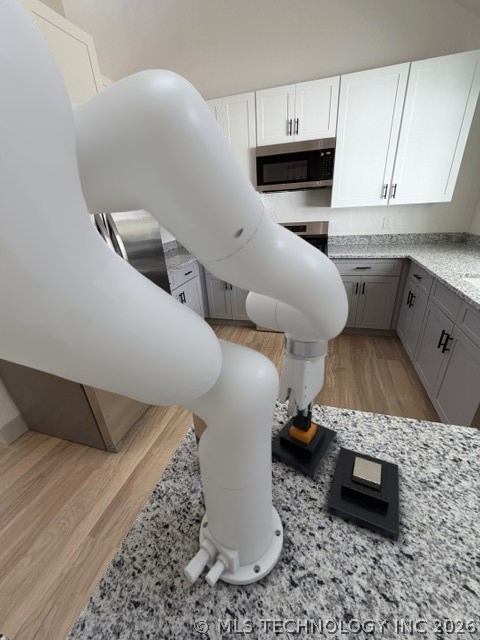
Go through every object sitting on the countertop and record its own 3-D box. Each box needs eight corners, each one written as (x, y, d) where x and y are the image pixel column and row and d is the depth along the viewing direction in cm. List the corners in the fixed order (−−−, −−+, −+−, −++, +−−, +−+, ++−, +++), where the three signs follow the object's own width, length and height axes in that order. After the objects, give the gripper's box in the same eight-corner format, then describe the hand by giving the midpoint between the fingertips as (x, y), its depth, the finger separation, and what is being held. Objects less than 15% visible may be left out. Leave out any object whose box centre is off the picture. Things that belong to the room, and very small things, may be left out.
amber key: (307, 444, 53) (308, 437, 53) (289, 436, 56) (289, 428, 55) (316, 432, 56) (316, 425, 56) (298, 424, 59) (298, 417, 58)
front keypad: (397, 542, 40) (401, 526, 38) (326, 512, 44) (328, 496, 43) (397, 471, 50) (400, 457, 49) (340, 453, 55) (341, 439, 54)
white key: (378, 492, 44) (380, 484, 43) (352, 482, 45) (353, 474, 45) (379, 472, 47) (381, 464, 46) (354, 464, 49) (355, 456, 48)
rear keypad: (313, 479, 50) (314, 464, 48) (266, 453, 56) (266, 440, 54) (336, 438, 58) (337, 425, 57) (294, 419, 64) (294, 407, 63)
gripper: (304, 326, 56) (301, 401, 62) (265, 353, 45) (265, 441, 51) (341, 334, 52) (333, 414, 58) (307, 366, 41) (302, 461, 47)
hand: (301, 427), depth 55 cm, fingers closed
